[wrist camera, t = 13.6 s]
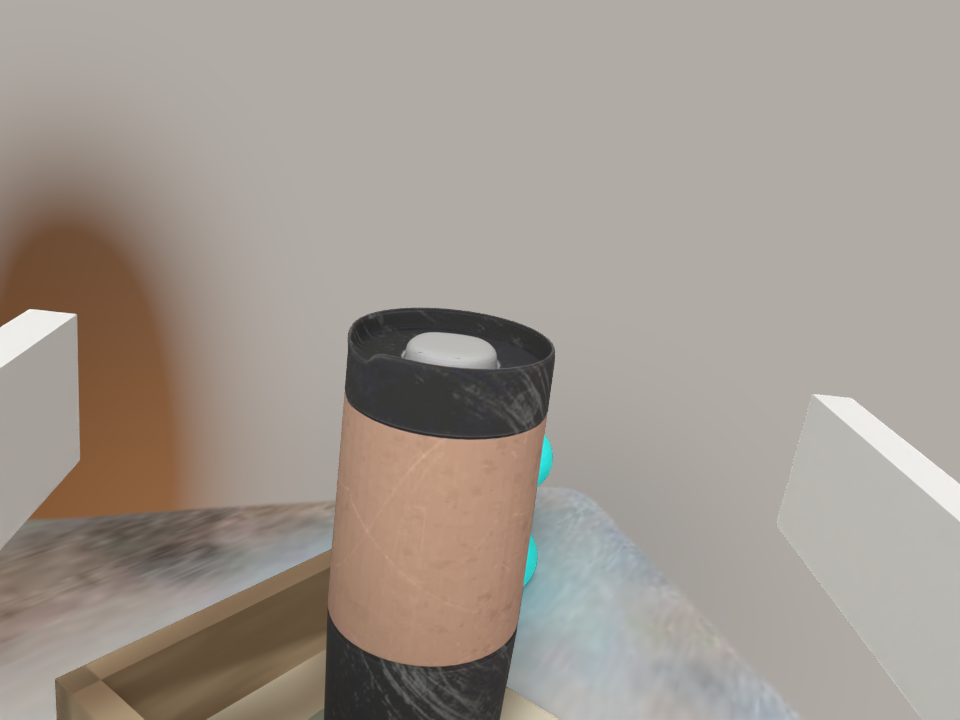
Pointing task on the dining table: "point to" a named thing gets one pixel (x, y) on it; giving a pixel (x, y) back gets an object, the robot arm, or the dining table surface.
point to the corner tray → (229, 662)
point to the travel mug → (433, 512)
